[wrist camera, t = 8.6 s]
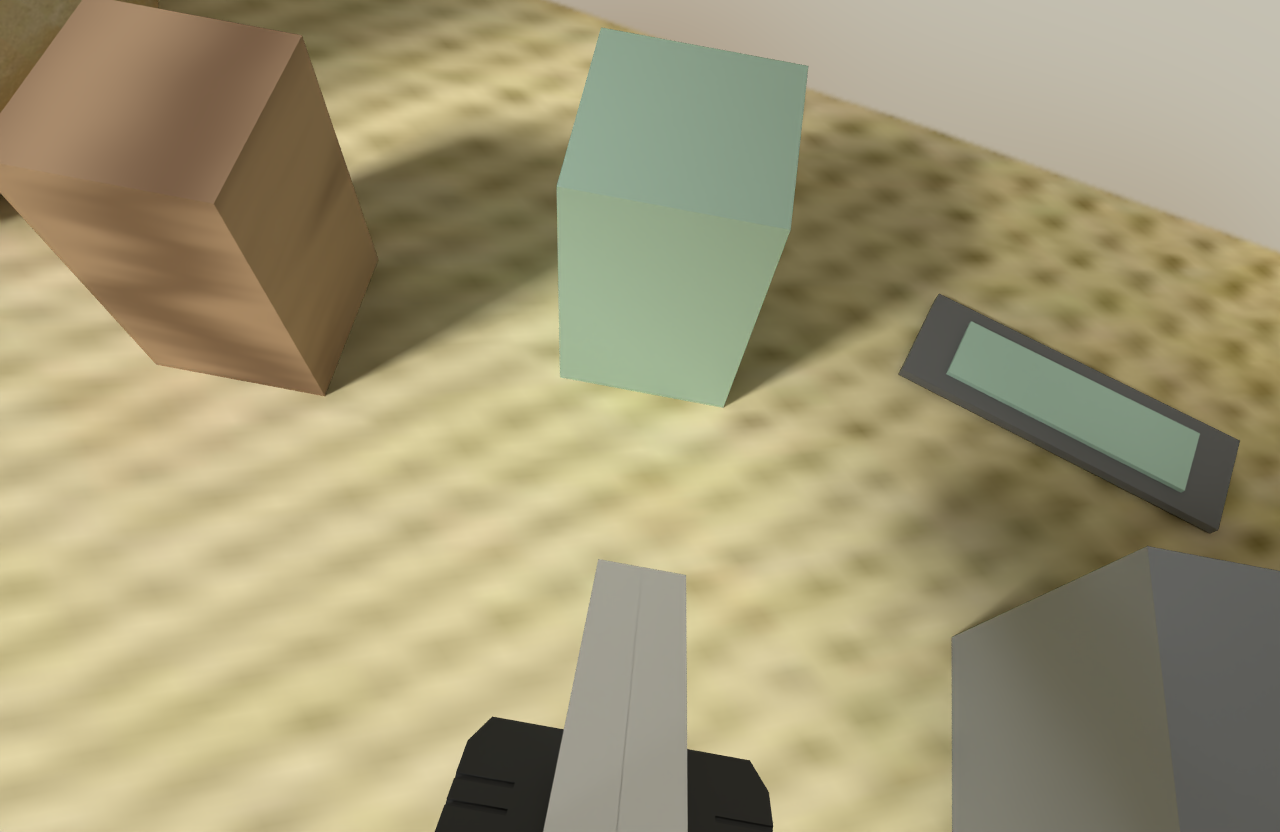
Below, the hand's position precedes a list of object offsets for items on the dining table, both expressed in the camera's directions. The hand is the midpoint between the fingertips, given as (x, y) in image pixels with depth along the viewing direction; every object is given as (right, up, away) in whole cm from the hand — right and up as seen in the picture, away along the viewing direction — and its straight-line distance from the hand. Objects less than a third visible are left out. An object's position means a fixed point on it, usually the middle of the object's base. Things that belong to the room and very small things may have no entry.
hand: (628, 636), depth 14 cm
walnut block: (-13, +8, +16) cm, 22 cm away
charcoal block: (+13, -7, +11) cm, 18 cm away
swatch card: (+16, +4, +17) cm, 23 cm away
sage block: (+1, +7, +17) cm, 18 cm away
